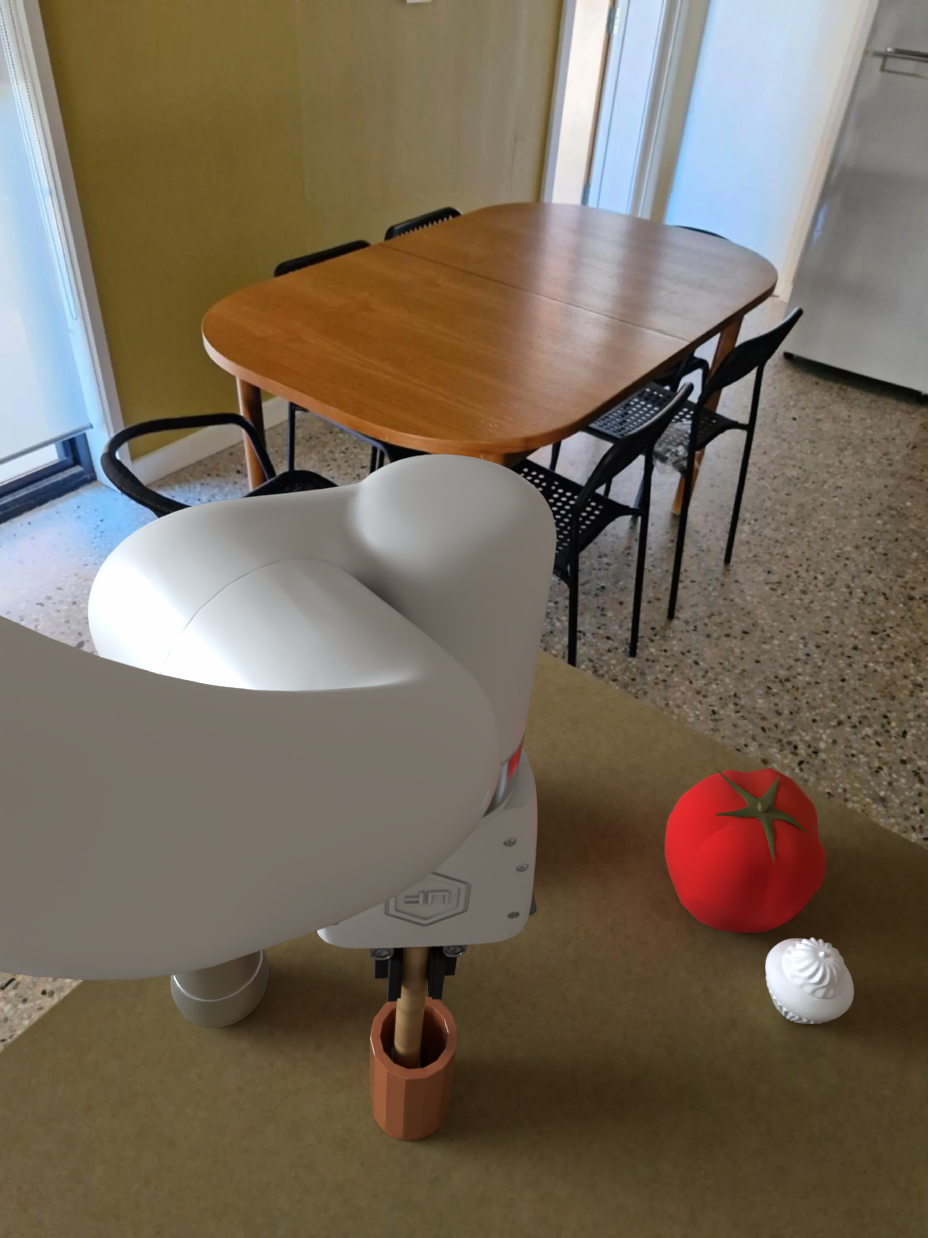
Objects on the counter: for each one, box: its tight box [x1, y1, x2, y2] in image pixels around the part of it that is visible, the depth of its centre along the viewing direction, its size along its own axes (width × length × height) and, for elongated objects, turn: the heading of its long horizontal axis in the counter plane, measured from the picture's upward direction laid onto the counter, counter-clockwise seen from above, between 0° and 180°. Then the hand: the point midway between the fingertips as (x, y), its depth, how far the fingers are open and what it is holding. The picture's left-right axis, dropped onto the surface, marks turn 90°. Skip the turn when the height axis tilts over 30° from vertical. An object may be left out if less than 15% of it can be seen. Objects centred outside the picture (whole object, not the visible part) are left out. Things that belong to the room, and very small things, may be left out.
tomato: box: [664, 767, 827, 934], centre depth 70 cm, size 12×13×12 cm
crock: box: [369, 994, 459, 1142], centre depth 56 cm, size 5×5×9 cm
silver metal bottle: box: [170, 949, 270, 1029], centre depth 58 cm, size 6×7×20 cm
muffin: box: [764, 937, 855, 1025], centre depth 64 cm, size 6×6×7 cm
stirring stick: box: [390, 946, 430, 1069], centre depth 51 cm, size 2×2×19 cm
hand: (413, 974), depth 49 cm, fingers closed on stirring stick, 1 cm apart
